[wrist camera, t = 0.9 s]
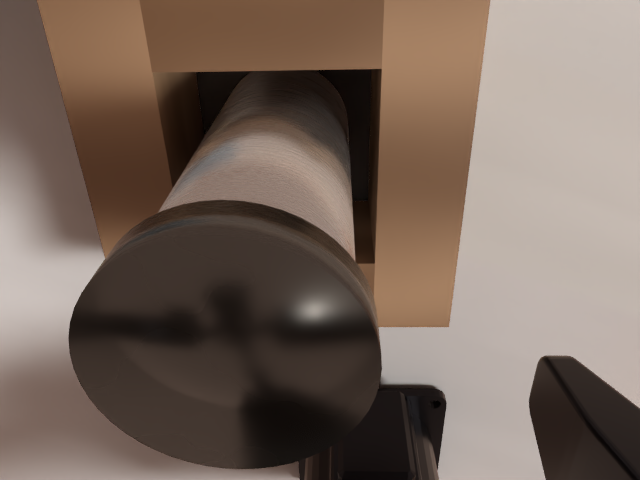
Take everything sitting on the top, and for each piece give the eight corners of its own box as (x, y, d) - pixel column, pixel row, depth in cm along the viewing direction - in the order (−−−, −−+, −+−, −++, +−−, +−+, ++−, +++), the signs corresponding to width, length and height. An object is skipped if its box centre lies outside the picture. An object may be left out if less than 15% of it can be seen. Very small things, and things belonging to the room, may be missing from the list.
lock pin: (356, 190, 19) (376, 470, 9) (223, 191, 19) (107, 467, 9) (358, 50, 16) (387, 233, 7) (206, 53, 16) (28, 236, 7)
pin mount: (429, 256, 20) (448, 327, 16) (160, 257, 20) (123, 326, 17) (458, -54, 15) (496, -46, 11) (98, -45, 15) (27, -35, 12)
